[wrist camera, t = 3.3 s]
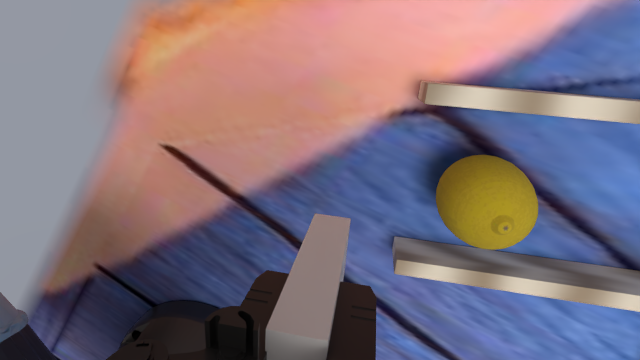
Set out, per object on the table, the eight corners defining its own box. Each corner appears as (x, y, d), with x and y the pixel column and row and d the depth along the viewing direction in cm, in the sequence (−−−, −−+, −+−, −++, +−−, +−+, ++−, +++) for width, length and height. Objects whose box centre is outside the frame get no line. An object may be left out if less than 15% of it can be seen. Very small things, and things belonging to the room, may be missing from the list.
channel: (392, 249, 28) (394, 273, 25) (420, 80, 23) (428, 83, 20) (735, 299, 25) (790, 335, 22) (844, 117, 20) (933, 127, 17)
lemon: (487, 222, 26) (532, 286, 18) (417, 201, 26) (433, 255, 19) (520, 155, 24) (586, 197, 16) (444, 133, 24) (475, 164, 17)
